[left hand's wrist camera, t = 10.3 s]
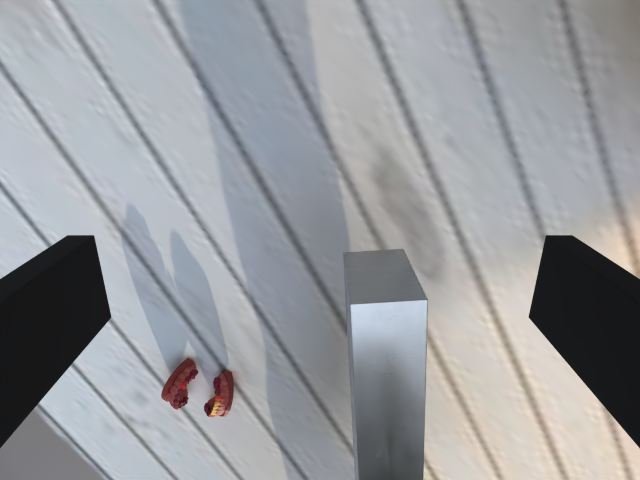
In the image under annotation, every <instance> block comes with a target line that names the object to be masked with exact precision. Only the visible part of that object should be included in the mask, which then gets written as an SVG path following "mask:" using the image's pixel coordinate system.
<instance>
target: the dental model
mask: <svg viewBox="0 0 640 480" xmlns="http://www.w3.org/2000/svg"><path fill="white" fill-rule="evenodd" d="M197 373H198V371H197V370H196V366H195V363H194V361H192V360H190V359H189V358H187V359H186V360H185V361H184V362H183V363H181V364H180V365H179V367H178V368H177V369H176V370H175V371H174V372H173V374H172V375H171V376H170V378H169V379H168V381H167V382H166V384H165V386H164V388H163V391H162V395H161V396H162V399H163V400H165V401H167V402H168V401H169V402H170V404H171V406H172V407H173V408H174V409H177V410H178V408H181V407H182V406H185V404H187V402H188V401H187V400H188V399H189V398H188V397H187V396H188V392H187V390H186V385H187V384H188V383H189V382H190V381H191V379H195V376H196V375H197ZM213 383H214V388H216V389H215V390H216V391H215V394H216V395H217V396H216V397H214V398H212V399H210V400H208V403H206V404H205V406H204V410H205V412H206V414H207V416H209V417H214V416H218V415H219V416H226V415H227V414H228V413H229V411H230V409H231V405H232V400H233V377H232V372H223V373H221V374H220V375H219V376H218V377H216V378H215V379H214V381H213Z"/></svg>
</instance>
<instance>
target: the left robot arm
mask: <svg viewBox="0 0 640 480" xmlns="http://www.w3.org/2000/svg"><path fill="white" fill-rule="evenodd" d="M110 318H111V313H110V309H109V304H108V299H107V295H106V290H105V285H104V280H103V276H102V271H101V266H100V261H99V257H98V252H97V247H96V243H95V238H94V235H68V236H66V237H64V238H63V239H61V240H60V241H58V242H57V243H55V244H54V245H52V246H51V247H49V248H48V249H46V250H44V251H43V252H41V253H40V254H38V255H37V256H35V257H34V258H32V259H31V260H29V261H28V262H26V263H24V264H23V265H21V266H20V267H18V268H17V269H15V270H14V271H12V272H11V273H9V274H8V275H6V276H4V277H3V278H1V279H0V448H1V447H2V445H3V444H4V443H5V442H6V441H7V439H8V438H9V437H10V436H11V435H12V434H13V432H14V431H15V430H16V429H17V428H18V427H19V425H20V424H21V423H22V422H23V421H24V419H25V418H26V417H27V416H28V415H29V414H30V412H31V411H32V410H33V409H34V408H35V407H36V405H37V404H38V403H39V402H40V401H41V399H42V398H43V397H44V396H45V395H46V394H47V392H48V391H49V390H50V389H51V388H52V387H53V385H54V384H55V383H56V382H57V381H58V379H59V378H60V377H61V376H62V375H63V374H64V372H65V371H66V370H67V369H68V368H69V367H70V365H71V364H72V363H73V362H74V361H75V359H76V358H77V357H78V356H79V355H80V354H81V352H82V351H83V350H84V349H85V348H86V346H87V345H88V344H89V343H90V342H91V341H92V339H93V338H94V337H95V336H96V335H97V334H98V332H99V331H100V330H101V329H102V328H103V326H104V325H105V324H106V323H107V322H108V321H109V319H110ZM529 318H530V319H531V321H532V322H533V323H534V324H535V325H536V326H537V328H538V329H539V330H540V331H541V332H542V334H543V335H544V336H545V337H546V338H547V339H548V341H549V342H550V343H551V344H552V345H553V346H554V348H555V349H556V350H557V351H558V352H559V354H560V355H561V356H562V357H563V358H564V359H565V361H566V362H567V363H568V364H569V365H570V367H571V368H572V369H573V370H574V371H575V372H576V374H577V375H578V376H579V377H580V378H581V379H582V381H583V382H584V383H585V384H586V385H587V387H588V388H589V389H590V390H591V391H592V392H593V394H594V395H595V396H596V397H597V398H598V399H599V401H600V402H601V403H602V404H603V405H604V407H605V408H606V409H607V410H608V411H609V412H610V414H611V415H612V416H613V417H614V418H615V419H616V421H617V422H618V423H619V424H620V425H621V427H622V428H623V429H624V430H625V431H626V432H627V434H628V435H629V436H630V437H631V438H632V440H633V441H634V442H635V443H636V444H637V445H638V447H639V448H640V279H639V278H637V277H636V276H634V275H632V274H631V273H629V272H628V271H626V270H625V269H623V268H622V267H620V266H619V265H617V264H616V263H614V262H612V261H611V260H609V259H608V258H606V257H605V256H603V255H602V254H600V253H599V252H597V251H596V250H594V249H592V248H591V247H589V246H588V245H586V244H585V243H583V242H582V241H580V240H579V239H577V238H575V237H574V236H572V235H546V238H545V243H544V247H543V252H542V257H541V261H540V266H539V271H538V276H537V280H536V285H535V290H534V295H533V299H532V304H531V309H530V313H529Z"/></svg>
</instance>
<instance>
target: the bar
mask: <svg viewBox="0 0 640 480" xmlns="http://www.w3.org/2000/svg"><path fill="white" fill-rule="evenodd" d="M343 257H344V276H345V295H346V314H347V332H348V351H349V370H350V389H351V407H352V426H353V445H354V464H355V480H423V468H424V429H425V391H426V352H427V313H428V299H427V297H426V295H425V293H424V291H423V289H422V287H421V285H420V283H419V280H418V278H417V276H416V274H415V272H414V270H413V268H412V266H411V264H410V262H409V260H408V258H407V255H406V253H405V251H404V249H395V250H379V251H363V252H347V253H343Z"/></svg>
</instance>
